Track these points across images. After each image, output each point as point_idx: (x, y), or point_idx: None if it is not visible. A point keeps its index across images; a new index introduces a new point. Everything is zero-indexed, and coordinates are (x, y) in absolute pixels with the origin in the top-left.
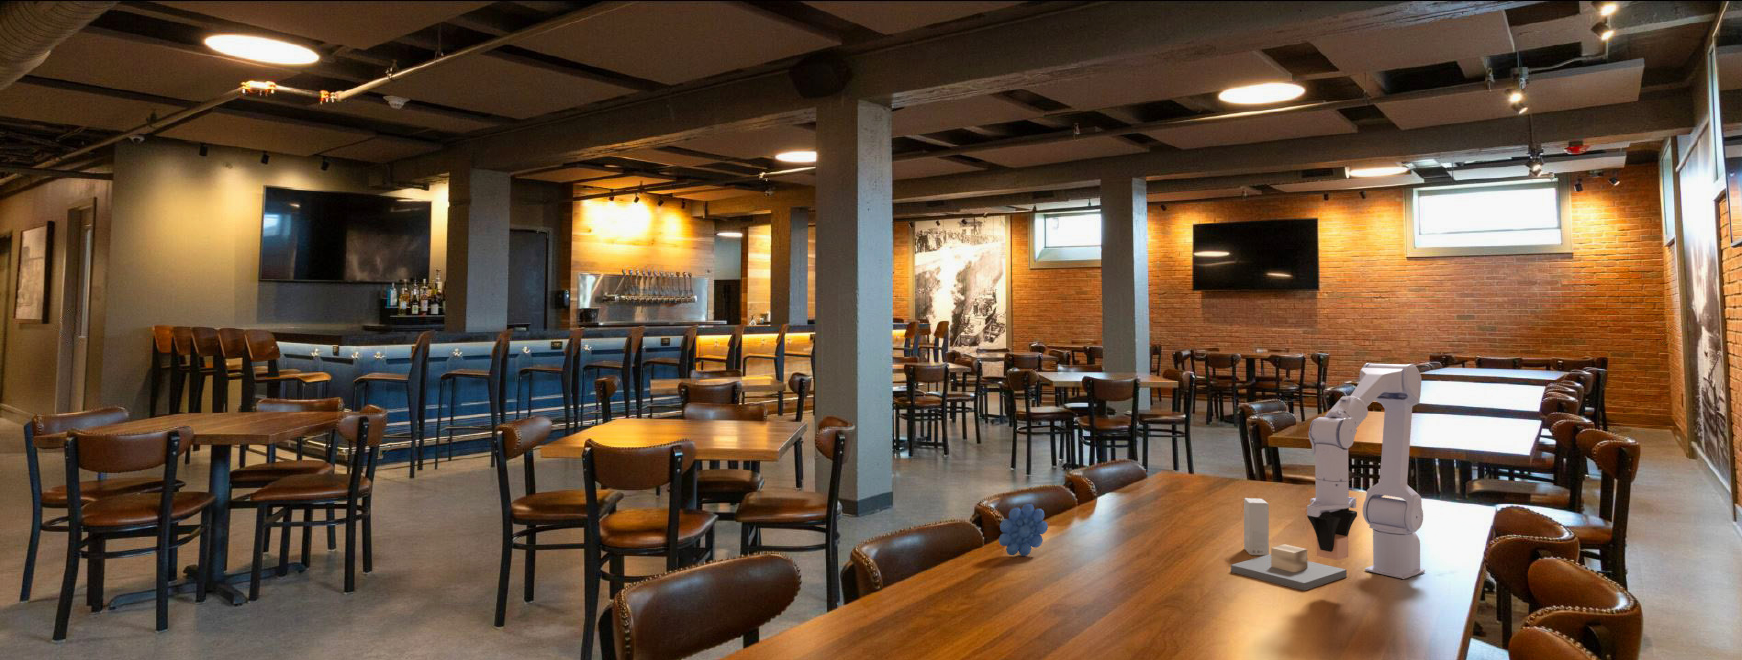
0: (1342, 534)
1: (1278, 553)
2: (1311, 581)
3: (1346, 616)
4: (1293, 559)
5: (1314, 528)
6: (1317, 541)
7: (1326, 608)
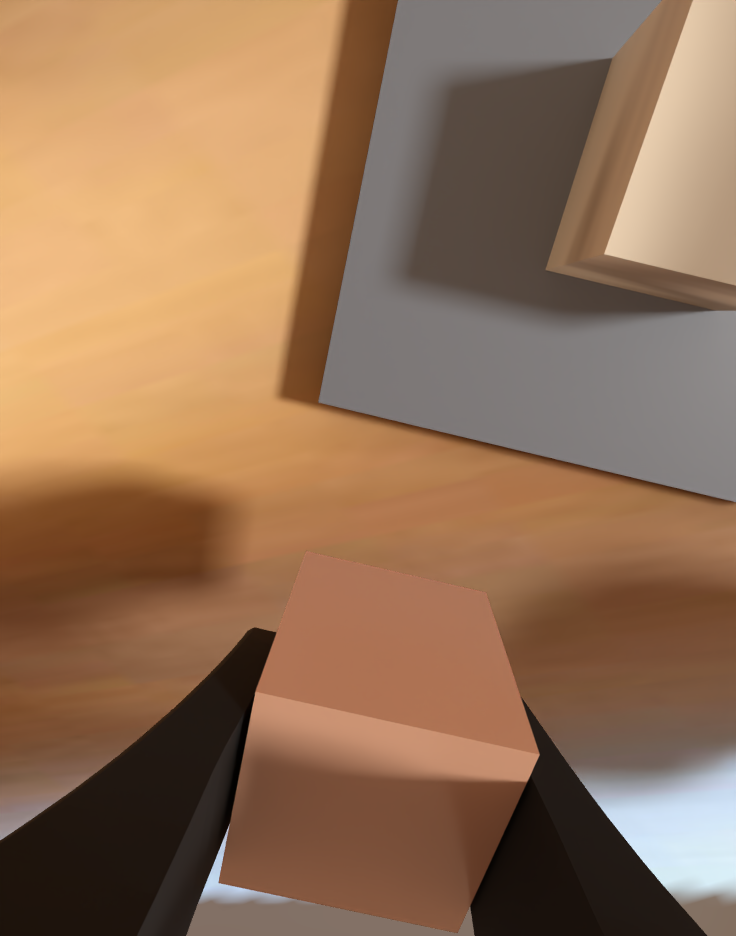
0: (483, 902)
1: (649, 75)
2: (399, 420)
3: (74, 633)
4: (583, 252)
5: (60, 806)
6: (273, 642)
7: (113, 551)
